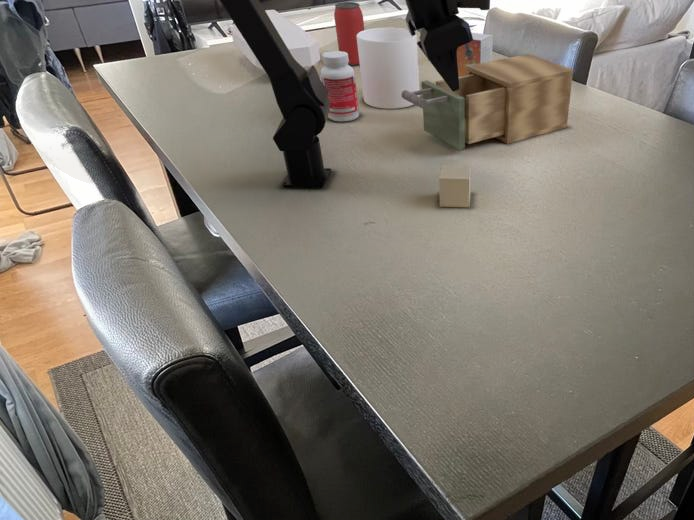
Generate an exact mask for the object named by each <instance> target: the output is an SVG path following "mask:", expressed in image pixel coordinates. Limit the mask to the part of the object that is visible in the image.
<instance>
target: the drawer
mask: <svg viewBox="0 0 694 520" xmlns="http://www.w3.org/2000/svg"><path fill="white" fill-rule="evenodd" d="M417 95H420V97H419V96H417ZM401 96H402V98H403V99H405V100H407V101H409V102H411V103H413V104H414V105H415V106H416V107H419V108H420V109H422V118H423V119H422V120H423V131H424V132H426V133H428V134H430V135H431V136H433V137H435V138H437V139H438V140H440V141H442V142H444V143H445V144H448V145H449V146H451V147H453V148H455V149H456V150H458V151H461V150H465V148H466V144H468V145H471V144H475V143H477V142H481V141H482V142H483V141H485V140H489V139H494V138H495V137H497V136H501V135H504V134H505V123H506V98H507V87H505V86H503V85H500V84H498V83H496V82H493V81H491V80H488V79H486V78H484V77H481V76H479V75H476V74H470V75H465V76H460V77H459V90H457V91H454V92H453V91H452V90H451V89H450V87H449V86H448V85H447V83H446V82H445V81H444V79H441V80H436V81H435V83H434V82H432V81H429V80H423V81H421V89H420V90H417V91H413V92H409V91H407V90H404V91H403V92H402V94H401ZM414 105H413V106H414Z"/></svg>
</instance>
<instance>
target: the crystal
mask: <svg viewBox="0 0 694 520" xmlns="http://www.w3.org/2000/svg"><path fill="white" fill-rule="evenodd" d="M264 10H265V11H266V13H267V15H268V16H269V18H270V20H271V21H272V23H273V25H274V26H275V28H276V30H277V31H278V33H279V35H280V36H281V38H282V40H283V41H284V43H285V45H286V46H287V48H288V50H289V51H290V53H291V55H292V56H293V58H294V59H295V60H296V61H297V62H298V63H299V64H300V65H301V66H302V67H303V68H304V69H305V70H307V69H309V68H310V67H311V66H312V65H314V67H315V68H316V66H317V65H318V64H319V62H320V61H321V54H320V47H319V41H318V40H316V39H315V38H314V37H313V36H312V35H310V33H308V32H307V31H306V30H304V29H303V28H302V27H301V26H299V25H298V24H297V23H295V22H293V21H292V20H290V19H289V18H288V17H286V16H285V15H283V14H282V13H280V12H278V11H277V10H276V9H264ZM230 34H231V37H232V41H233V46H234V47H235V48H236V49H237V50H238V51H239V52H240V53H241V54H242V55H243V56H244V57H245V58H246V59H247V60H249V61H250V62H251V64H253V65H254V66H255V67H256V68H257V69H258V70H259V71H261V72H263V73H264V74H266V72H265V70H264V69H263V67H262V66H261V64H260V63H259V61H258V60H257V58H256V56H255V55H254V53H253V52H252V50H251V49H250V47H249V45H248V44H247V42H246V41H245V39H244V38H243V36H242V35H241V33H240V31H239V30H238V28H237V27H236V25H235V24H234V23H233V24H232V25H231V27H230ZM266 75H267V74H266Z"/></svg>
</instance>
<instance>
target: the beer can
mask: <svg viewBox="0 0 694 520" xmlns="http://www.w3.org/2000/svg"><path fill="white" fill-rule="evenodd" d="M334 7H335V8H334V13H333V17H334V24H335V32H336V40H337V47H338V51H342V52H346V53H348V58H349V62H348V65H349V66H360V62H359V54H358V45H357V34H358V33H359V32H361V31H364V30H365V22H364V15H363V12H362V9H361V7H360V4H359V2H354V1H343V2H337V3H336V4H334Z"/></svg>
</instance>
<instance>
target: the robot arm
mask: <svg viewBox="0 0 694 520" xmlns="http://www.w3.org/2000/svg"><path fill="white" fill-rule="evenodd" d="M219 2H220V3H221V5H222V7H223V9H224V10H225V12H226V13H227V14H228V17H229V18H230V19H231V20H232V22H233V24H235V25H236V27H237V28H238V30H239V31H240V33H241V35H242V36H243V38H244V39H245V41H246V42H247V44H248V45H249V47H250V49H251V50H252V52H253V53H254V55H255V56H256V58H257V60H258V61H259V63H260V64H261V66H262V67H263V69H264V70H265V72H266V75H267V77H268V79H269V82H270V85H271V88H272V92H273V95H274V98H275V102H276V104H277V107H278V109H279V111H280V113H281V116H282V119H281V120H280V122H279V124H278V126H277V128H276V130H275V132H274V134H273V135H272V136H273V137H272V140H273V142H274V143H275V145H276V147H277V148H278V150H279V151H280V152H282V154H283V159H284V165H285V167H286V172H287V174H286V176H285V177H284V179H283V181H282V182H281V186H282V188H299V189H300V188H304V189H305V188H306V189H323V188H324V187H325V186H326V184H327V181H328V180H329V178H330V176H331V175H332V168H329V167H325V165H324V160H323V154H322V148H321V142H320V138H319V136H318V135H320V134H321V133H322V132H323V130H324V128H325V126H326V124H327V120H328V118H329V117H328V114H329V110H330V101H329V98H328V94H329V89H328V88H327V87H325V86H324V84H323V83H322V79H321V77H320V76H319V75H320V74H319V72H318V70H317V68H316V66H315V67H314V65H312V66H311V67H310V68H309V69H307V70H305V69H304V68H303V67H302V66H301V65H300V64H299V63H298V62H297V61H296V60H295V59H294V58H293V56H292V55H291V53H290V51H289V50H288V48H287V46H286V45H285V43H284V41H283V40H282V38H281V36H280V35H279V33H278V31H277V30H276V28H275V26H274V25H273V23H272V21H271V20H270V18H269V16H268V15H267V13H266V11H265V10H266V9H265V8H264V6H263V5H262V3H261V1H260V0H219ZM404 2H405V4H406V8H407V10H408V11H407V13H406V16H405V19H404V20H405V23H406V26H407V29H408V30H409V32H410V34H411V35H412V36H414V35H417V33H416V31H417V32H418V33H419V40H417V47H418V48H420V51H422V53H423V54H424V56H425V57H426V58H427V60H428V61H429V62H430V64H431V65H432V66H433V68H434V69H435V71H436V72H437V73H438V74H439V76H440V77H441V78H442V80H444V81H445V82H446V83H447V85H448V86H449V87H450V89H451V90H452V91H453V92H454V91H457V90H459V76H458V64H457V49H458V47H459V46H462V45H464V44H467V43H469V42H471V41H472V40H473V37H472V34H471V32H472V31H471V27H470V24H469V23H468V22H467V21H466V20H465V19H463V18H462V17H460V16H458V15H459V14H460V11H459V9H479V10H480V11H489V10H491V0H404ZM415 33H416V34H415Z"/></svg>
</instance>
